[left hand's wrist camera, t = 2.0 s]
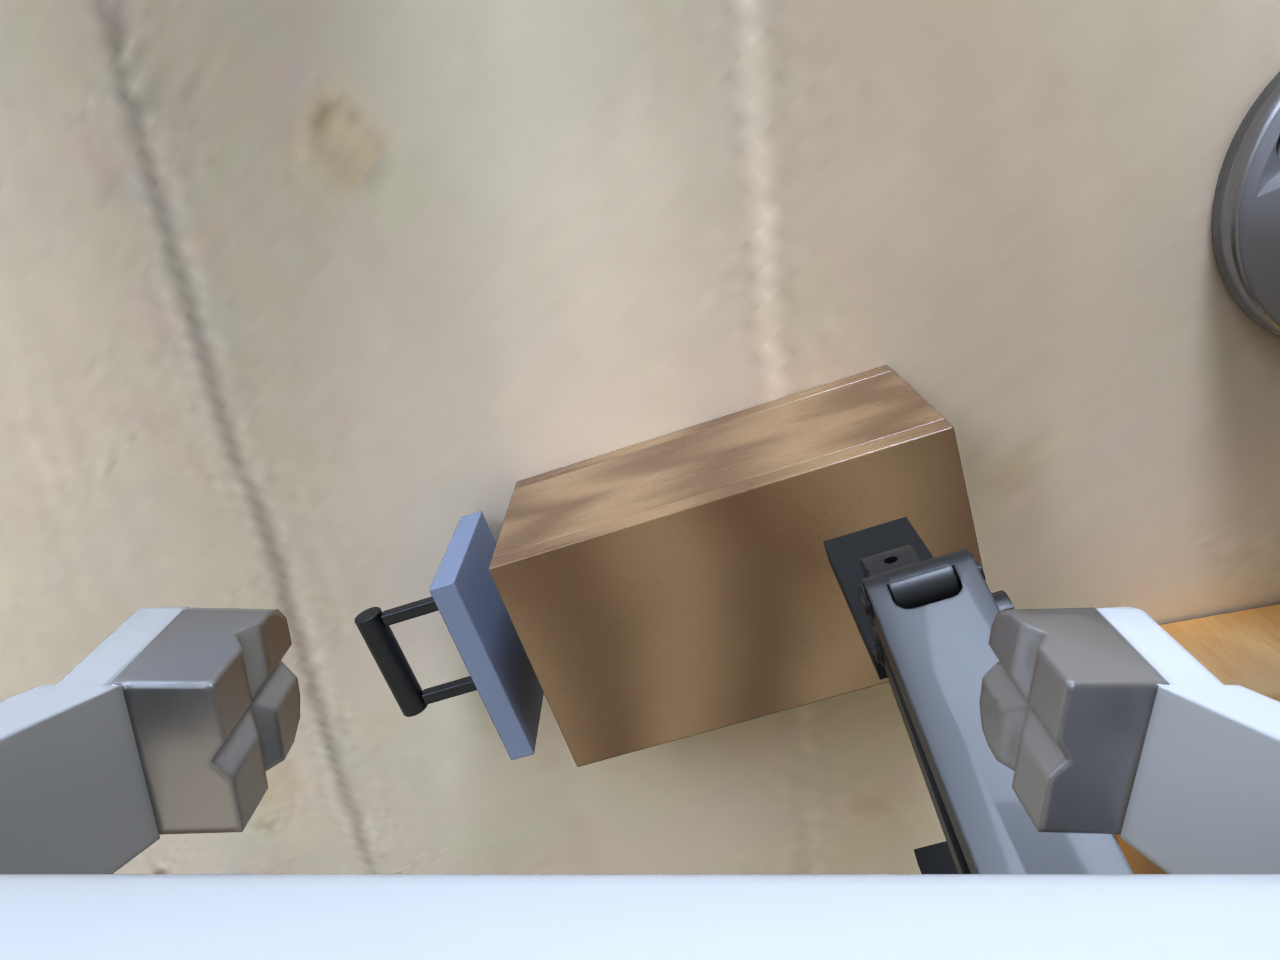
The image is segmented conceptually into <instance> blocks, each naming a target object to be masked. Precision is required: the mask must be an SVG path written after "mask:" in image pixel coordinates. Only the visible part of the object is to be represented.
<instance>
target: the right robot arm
mask: <svg viewBox="0 0 1280 960" xmlns="http://www.w3.org/2000/svg"><path fill="white" fill-rule="evenodd" d="M1212 237H1213V245H1214V252H1215V257H1216V261H1217V265H1218V268H1219V271H1220V273H1221V276H1222V279H1223V281H1224V283H1225V285H1226V287H1227V289H1228V291H1229V293H1230V294H1231V296H1232V297H1233V299H1234V300H1235V301H1236V303H1237V304H1238V305H1239V307H1240V308H1241V309H1242V310H1243V311H1244V312H1245V313H1246V314H1247V315H1248V316H1249V317H1250V318H1251V319H1253V320H1254V321H1255V322H1256V323H1257V324H1259V325H1260V326H1262V327H1263V328H1265V329H1267V330H1268V331H1270V332H1272V333H1274V334H1276V335H1278V336H1280V72H1279V73H1278V74H1277V75H1276V76H1275V78H1274V79H1273V80H1272V81H1271V82H1270V83H1269V84H1268V86H1267V87H1266V88H1265V89H1264V91H1263V92H1262V93H1261V94H1260V96H1259V97H1258V98H1257V100H1256V101H1255V102H1254V104H1253V105H1252V107H1251V108H1250V110H1249V112H1248V113H1247V115H1246V116H1245V118H1244V119H1243V121H1242V123H1241V125H1240V127H1239V129H1238V130H1237V132H1236V134H1235V136H1234V138H1233V140H1232V142H1231V145H1230V147H1229V149H1228V152H1227V154H1226V157H1225V159H1224V162H1223V165H1222V168H1221V171H1220V175H1219V179H1218V182H1217V186H1216V191H1215V197H1214V203H1213V215H1212ZM823 543H824V546H825V550H826V553H827V557H828V560H829V563H830V565H831V567H832V570H833V572H834V574H835V577H836V579H837V581H838V584H839V586H840V588H841V591H842V593H843V595H844V598H845V600H846V602H847V604H848V607H849V609H850V611H851V614H852V616H853V618H854V621H855V623H856V625H857V628H858V630H859V632H860V635H861V637H862V639H863V642H864V644H865V646H866V649H867V651H868V653H869V656H870V658H871V660H872V662H873V665H874V667H875V669H876V672H877V674H878V676H879V679H880V680H881V679H885V678H888V679H889V682H890V685H891V687H892V690H893V693H894V696H895V699H896V701H897V704H898V707H899V710H900V713H901V715H902V718H903V721H904V724H905V726H906V729H907V732H908V735H909V738H910V740H911V743H912V746H913V749H914V752H915V754H916V757H917V760H918V763H919V765H920V768H921V771H922V774H923V777H924V779H925V782H926V785H927V788H928V791H929V793H930V796H931V799H932V802H933V805H934V807H935V810H936V813H937V816H938V818H939V821H940V824H941V827H942V830H943V832H944V835H945V838H946V842H942V843H938V844H934V845H930V846H926V847H922V848H918V849H914V852H915V855H916V859H917V862H918V865H919V868H920V870H921V873H922V874H1134V873H1133V871H1132V869H1131V867H1130V865H1129V863H1128V861H1127V859H1126V857H1125V855H1124V853H1123V852H1122V850H1121V848H1120V846H1119V844H1118V842H1117V840H1116V838H1115V836H1114V834H1092V833H1055V832H1038V831H1037V830H1036V828H1035V826H1034V825H1033V823H1032V821H1031V819H1030V818H1029V816H1028V814H1027V813H1026V811H1025V809H1024V808H1023V806H1022V804H1021V802H1020V801H1019V799H1018V797H1017V796H1016V794H1015V792H1014V790H1013V789H1012V784H1013V778H1014V773H1015V771H1013V770H1011V769H1010V768H1008V767H1007V766H1005V765H1003V764H1002V763H1000V762H999V761H997V760H996V759H995V757H994V756H993V754H992V752H991V750H990V748H989V747H988V745H987V742H986V739H985V736H984V733H983V729H982V725H981V714H980V704H979V702H980V695H981V687H982V679H983V677H984V676H985V675H986V674H987V673H988V672H989V671H990V670H991V668H992V667H993V666H994V665H995V664H996V663H997V662H998V661H999V660H998V658H997V657H996V655H995V653H994V652H993V650H992V649H991V647H990V646H989V644H988V643H989V637H990V632H991V626H992V623H993V621H994V619H995V617H996V615H997V612H998V611H1004V610H1012V609H1014V606H1013V604H1012V602H1011V600H1010V598H1009V597H1008V596H1007V594H1006V593H1005V592H1004V591H1003V590H1002V591H999V592H995V593H992V594H991V592H990V590H989V588H988V586H987V584H986V582H985V576H984V572H983V570H982V567H981V565H980V564H979V562H978V561H977V562H975V560H974V557H973V555H972V553H971V552H969V551H968V550H967V549H962V550H959V551H955V552H952V553H949V554H945V555H941V556H938V557H933V556H932V554H931V553H930V551H929V550H928V548H927V547H926V545H925V544H924V542H923V541H922V539H921V538H920V537H919V535H918V534H917V532H916V531H915V529H914V528H913V526H912V525H911V523H910V522H909V520H908V519H907V517H903V518H900V519H896V520H893V521H890V522H886V523H883V524H880V525H876V526H873V527H870V528H866V529H863V530H860V531H857V532H853V533H850V534H847V535H843V536H840V537H837V538H833V539H830V540H827V541H823Z"/></svg>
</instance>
